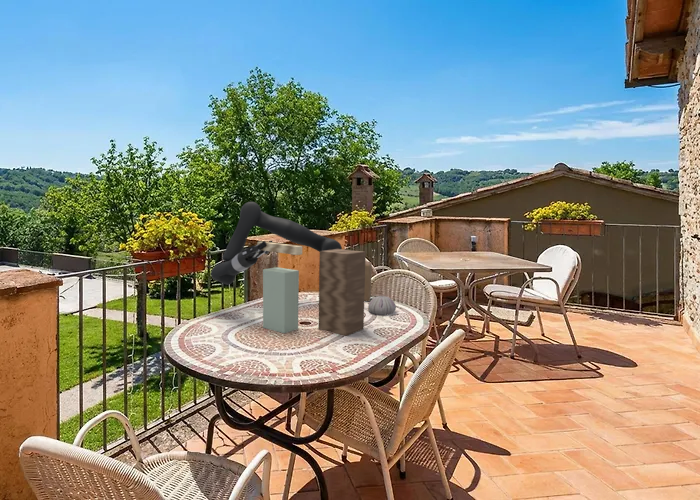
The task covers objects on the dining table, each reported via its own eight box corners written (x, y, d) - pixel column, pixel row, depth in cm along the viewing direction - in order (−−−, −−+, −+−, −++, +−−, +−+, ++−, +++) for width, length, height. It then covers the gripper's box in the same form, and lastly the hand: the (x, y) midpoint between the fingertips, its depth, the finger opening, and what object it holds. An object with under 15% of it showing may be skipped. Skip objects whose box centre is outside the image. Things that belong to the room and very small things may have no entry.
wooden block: (370, 298, 240) (371, 261, 238) (369, 302, 230) (370, 264, 228) (352, 297, 241) (353, 260, 239) (350, 301, 231) (351, 263, 229)
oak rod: (257, 249, 182) (257, 241, 182) (263, 249, 185) (263, 241, 185) (296, 255, 169) (296, 246, 169) (302, 254, 172) (302, 246, 172)
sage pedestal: (263, 327, 180) (263, 269, 178) (277, 323, 187) (277, 267, 184) (284, 333, 173) (284, 272, 171) (298, 328, 180) (298, 270, 177)
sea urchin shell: (401, 313, 209) (402, 296, 208) (382, 318, 200) (382, 300, 199) (381, 307, 219) (381, 292, 218) (361, 312, 210) (362, 295, 209)
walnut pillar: (318, 329, 180) (319, 251, 176) (336, 323, 190) (338, 248, 186) (346, 336, 172) (347, 254, 168) (363, 329, 181) (365, 251, 178)
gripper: (228, 253, 185) (252, 235, 175) (254, 250, 196) (278, 233, 187) (234, 269, 184) (258, 252, 174) (259, 266, 195) (284, 250, 185)
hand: (268, 243), depth 180 cm, fingers closed on oak rod, 3 cm apart
